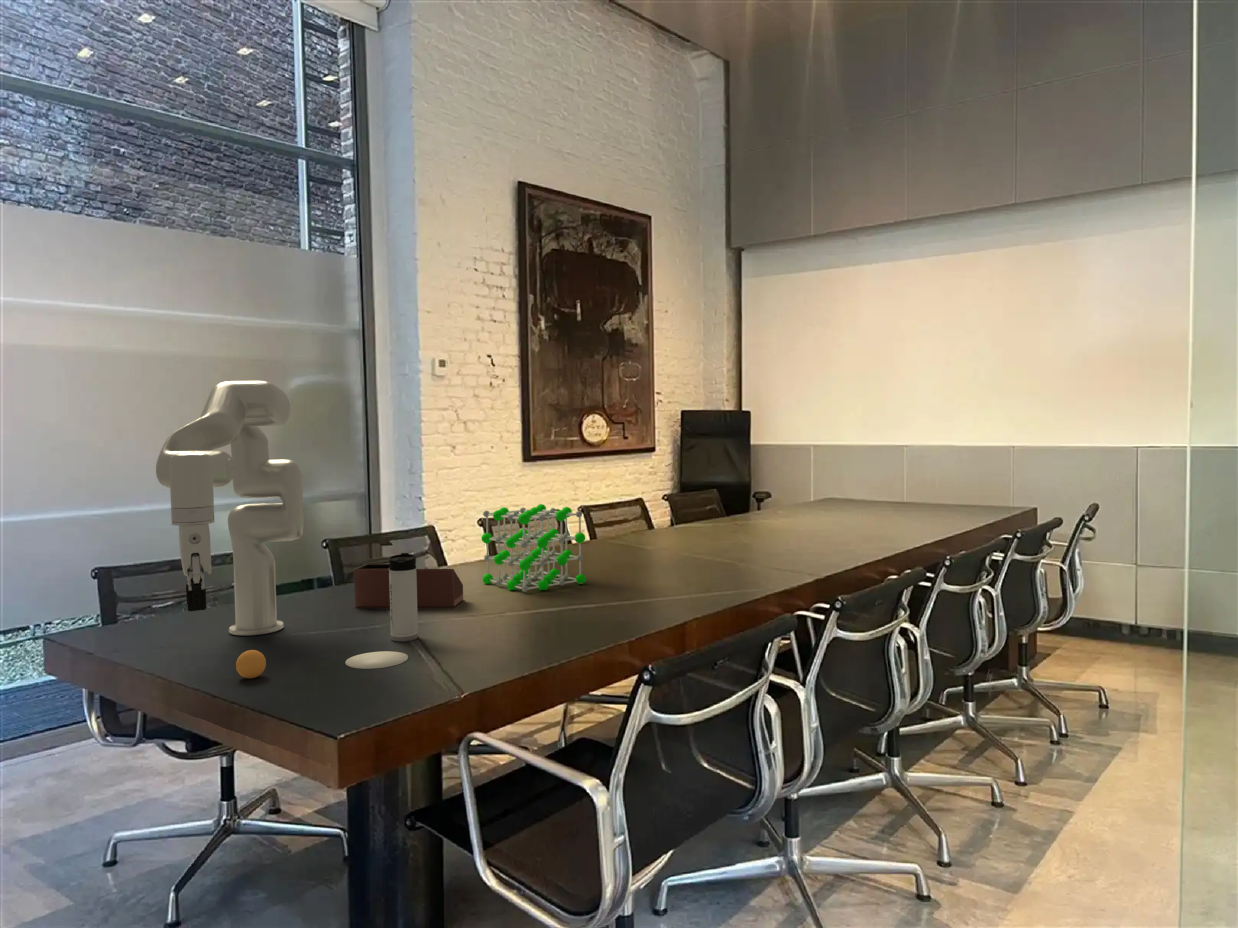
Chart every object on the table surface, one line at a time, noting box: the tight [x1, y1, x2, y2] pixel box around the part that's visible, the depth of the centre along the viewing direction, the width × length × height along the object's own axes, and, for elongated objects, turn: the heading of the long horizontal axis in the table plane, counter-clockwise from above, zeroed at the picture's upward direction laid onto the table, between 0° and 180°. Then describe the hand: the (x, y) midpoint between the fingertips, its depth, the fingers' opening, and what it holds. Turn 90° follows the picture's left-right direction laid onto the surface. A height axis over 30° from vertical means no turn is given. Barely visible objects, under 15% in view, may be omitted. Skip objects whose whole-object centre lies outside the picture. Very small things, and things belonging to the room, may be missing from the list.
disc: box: [344, 650, 409, 670], centre depth 185 cm, size 13×13×1 cm
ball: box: [235, 649, 267, 679], centre depth 173 cm, size 6×6×6 cm
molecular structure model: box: [480, 503, 587, 593], centre depth 271 cm, size 24×25×24 cm
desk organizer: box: [352, 563, 466, 610], centre depth 243 cm, size 10×29×11 cm, turn 85°
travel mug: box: [388, 552, 419, 643], centre depth 204 cm, size 6×7×20 cm
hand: (196, 606), depth 168 cm, fingers open, 6 cm apart
